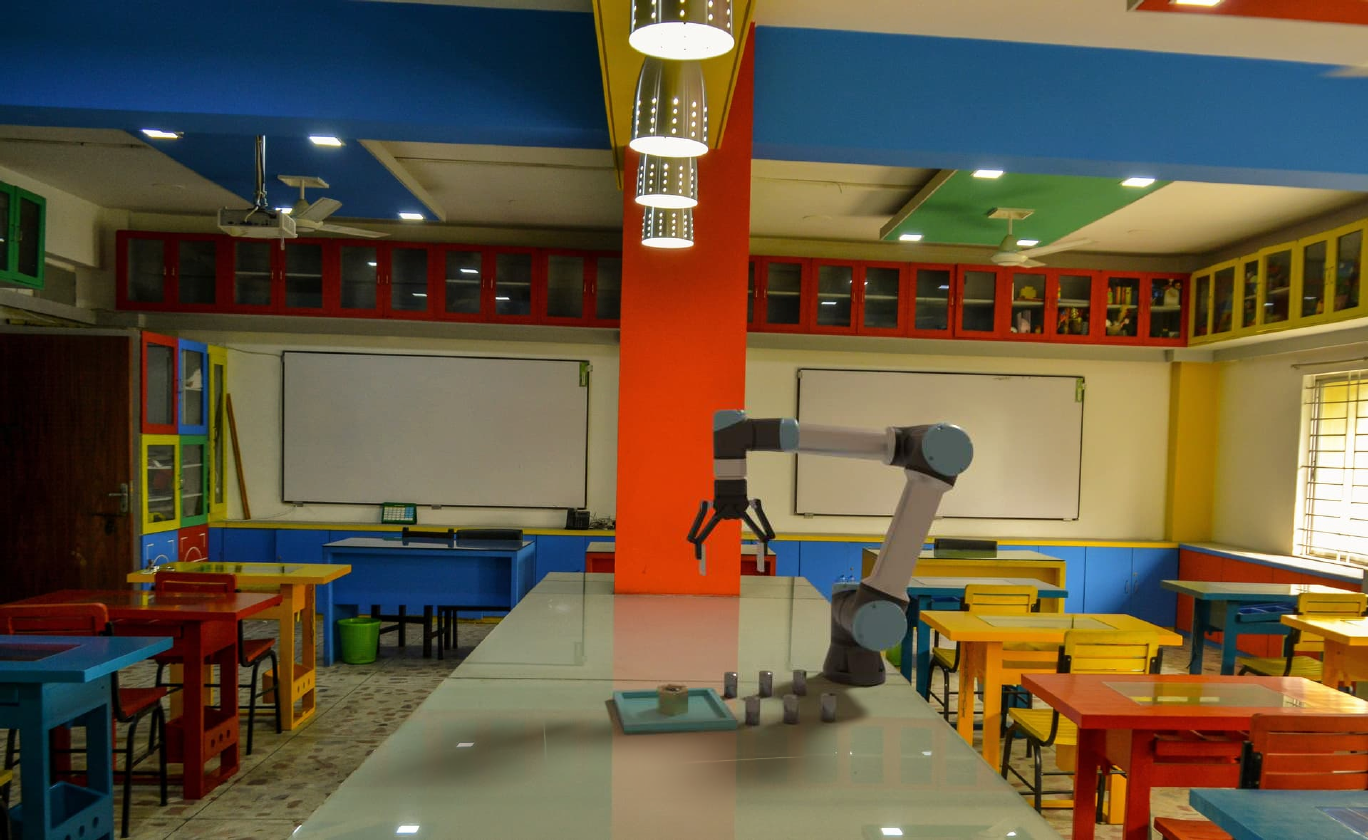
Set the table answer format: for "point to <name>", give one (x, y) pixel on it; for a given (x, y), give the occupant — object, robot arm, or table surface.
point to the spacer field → (788, 700)
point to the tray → (644, 717)
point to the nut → (672, 699)
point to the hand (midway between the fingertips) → (731, 572)
